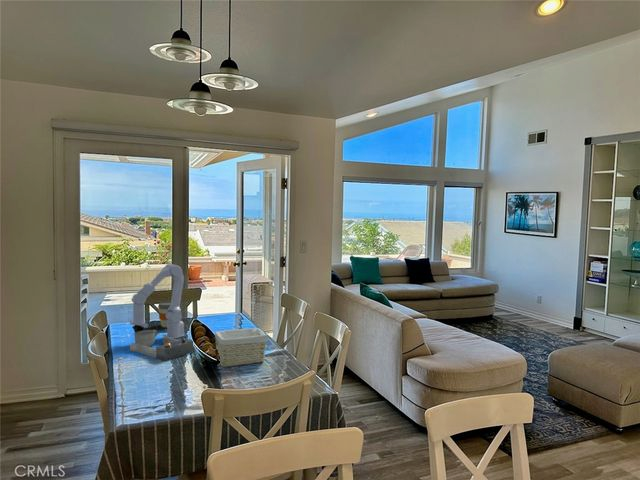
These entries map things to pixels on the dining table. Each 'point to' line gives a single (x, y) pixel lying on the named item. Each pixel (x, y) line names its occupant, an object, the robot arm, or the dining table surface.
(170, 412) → the dining table surface
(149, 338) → the teacup
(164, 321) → the reusable coffee cup
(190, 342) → the motor block
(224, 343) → the storage basket
